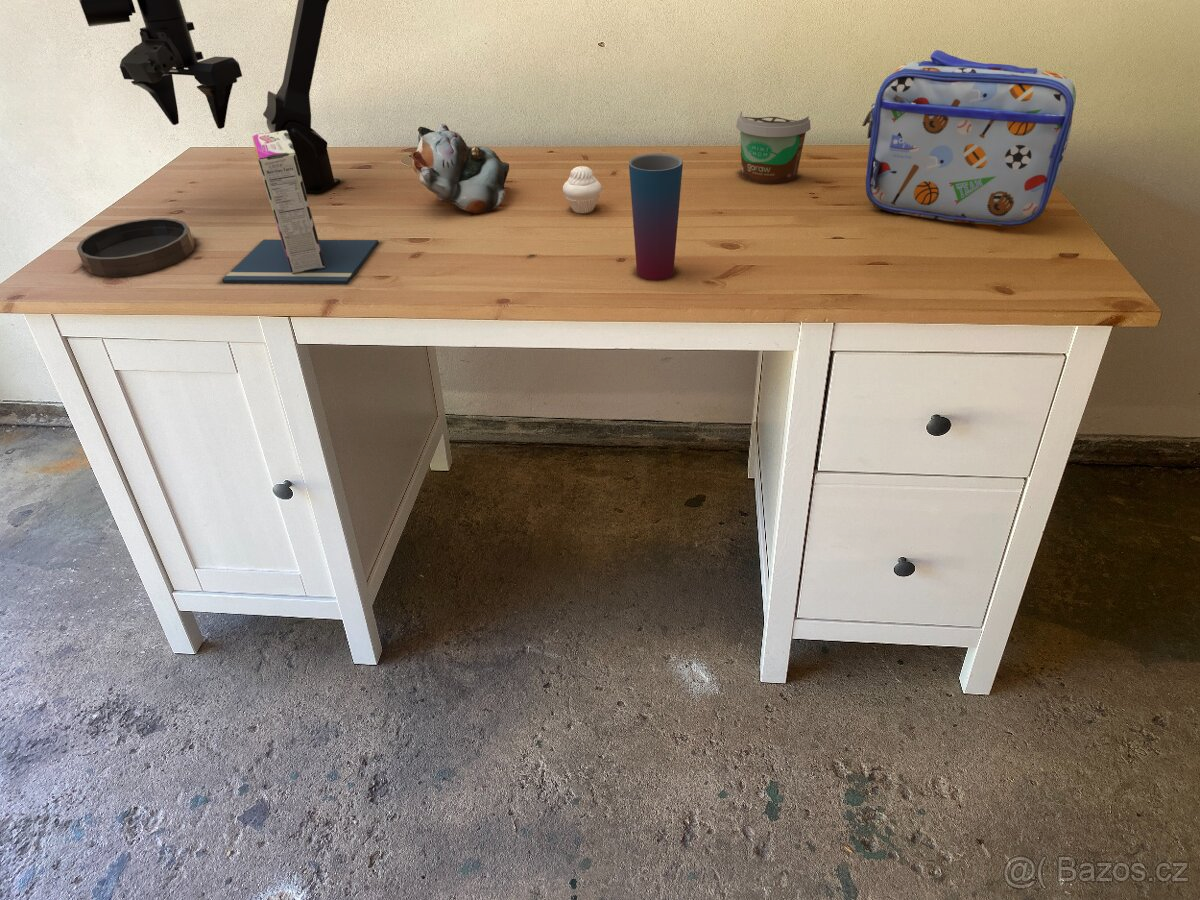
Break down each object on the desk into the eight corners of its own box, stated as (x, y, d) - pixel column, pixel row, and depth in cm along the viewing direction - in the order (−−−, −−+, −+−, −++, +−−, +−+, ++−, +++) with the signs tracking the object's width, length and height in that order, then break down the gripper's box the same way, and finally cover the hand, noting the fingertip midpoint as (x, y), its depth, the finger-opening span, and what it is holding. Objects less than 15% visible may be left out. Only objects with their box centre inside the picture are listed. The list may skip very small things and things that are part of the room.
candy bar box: (282, 247, 124) (250, 134, 114) (316, 241, 125) (288, 128, 116) (290, 276, 116) (256, 156, 106) (326, 269, 117) (296, 150, 107)
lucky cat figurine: (498, 217, 131) (445, 145, 122) (440, 239, 137) (385, 172, 128) (520, 160, 140) (472, 89, 131) (464, 183, 146) (414, 116, 137)
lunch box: (845, 211, 128) (867, 57, 115) (862, 190, 135) (885, 42, 122) (1039, 239, 117) (1088, 72, 104) (1046, 214, 124) (1093, 55, 111)
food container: (725, 182, 141) (728, 120, 135) (734, 170, 145) (738, 110, 139) (798, 189, 137) (804, 126, 131) (805, 176, 141) (812, 115, 135)
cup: (627, 263, 116) (625, 154, 107) (675, 260, 116) (678, 151, 107) (633, 284, 111) (631, 172, 102) (684, 281, 111) (687, 168, 102)
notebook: (378, 242, 125) (377, 239, 125) (347, 283, 114) (346, 280, 114) (264, 242, 127) (263, 239, 127) (222, 282, 116) (221, 279, 116)
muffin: (572, 201, 136) (569, 158, 132) (607, 204, 134) (606, 161, 130) (558, 215, 131) (555, 170, 127) (594, 218, 130) (592, 173, 126)
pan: (216, 241, 128) (210, 223, 126) (141, 282, 117) (133, 264, 115) (140, 230, 133) (133, 213, 131) (61, 270, 121) (52, 252, 120)
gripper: (72, 26, 120) (114, 137, 130) (173, 30, 115) (209, 145, 124) (131, 12, 128) (167, 117, 138) (228, 15, 123) (258, 124, 132)
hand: (198, 126), depth 133 cm, fingers open, 9 cm apart
